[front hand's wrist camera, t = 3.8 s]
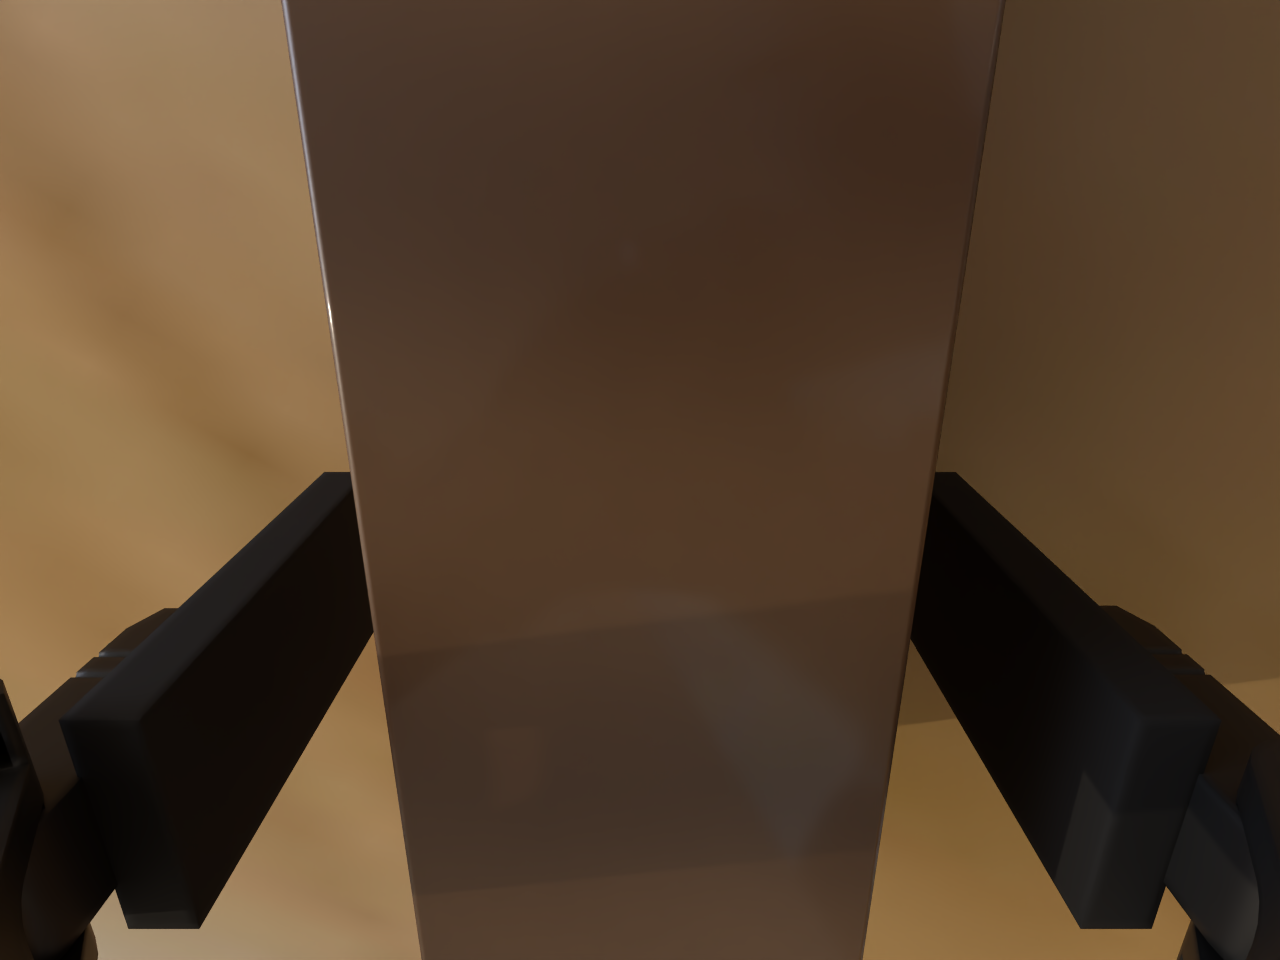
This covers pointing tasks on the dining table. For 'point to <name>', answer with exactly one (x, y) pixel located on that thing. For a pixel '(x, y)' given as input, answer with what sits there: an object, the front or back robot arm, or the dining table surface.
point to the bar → (642, 441)
